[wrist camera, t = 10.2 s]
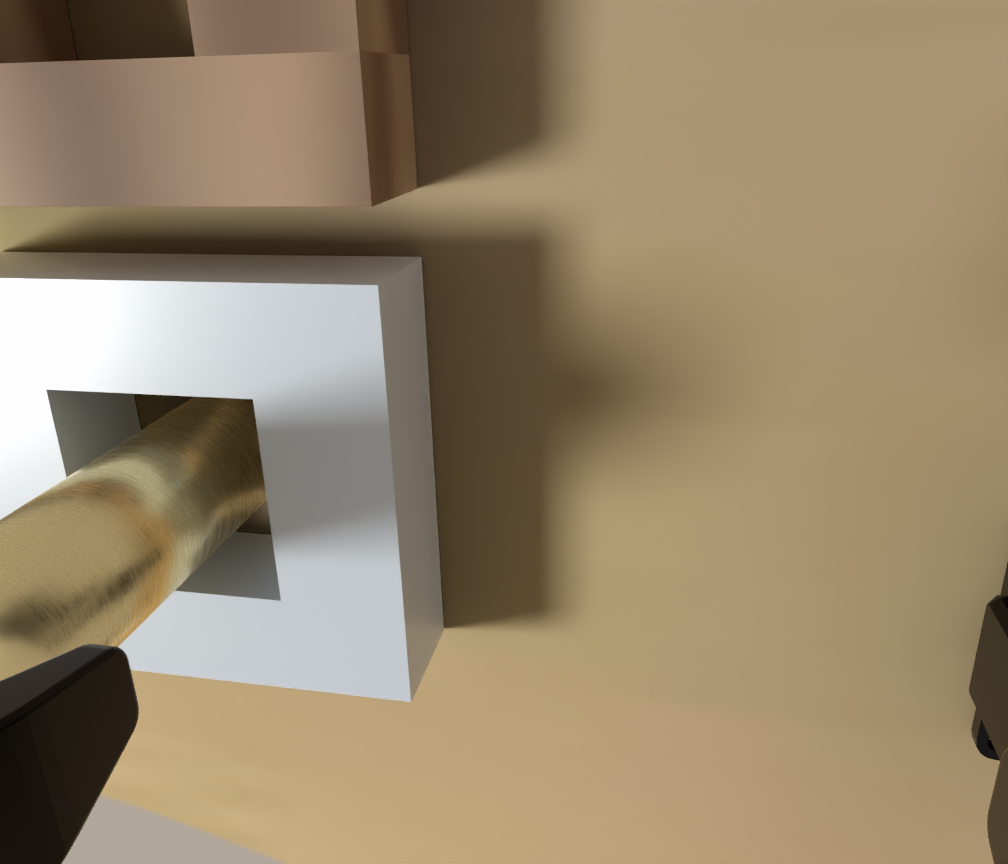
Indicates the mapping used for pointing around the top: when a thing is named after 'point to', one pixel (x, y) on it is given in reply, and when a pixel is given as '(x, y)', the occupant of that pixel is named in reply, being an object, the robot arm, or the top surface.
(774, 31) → the top surface
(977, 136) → the top surface
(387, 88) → the mount
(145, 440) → the pin
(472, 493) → the top surface
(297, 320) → the socket
